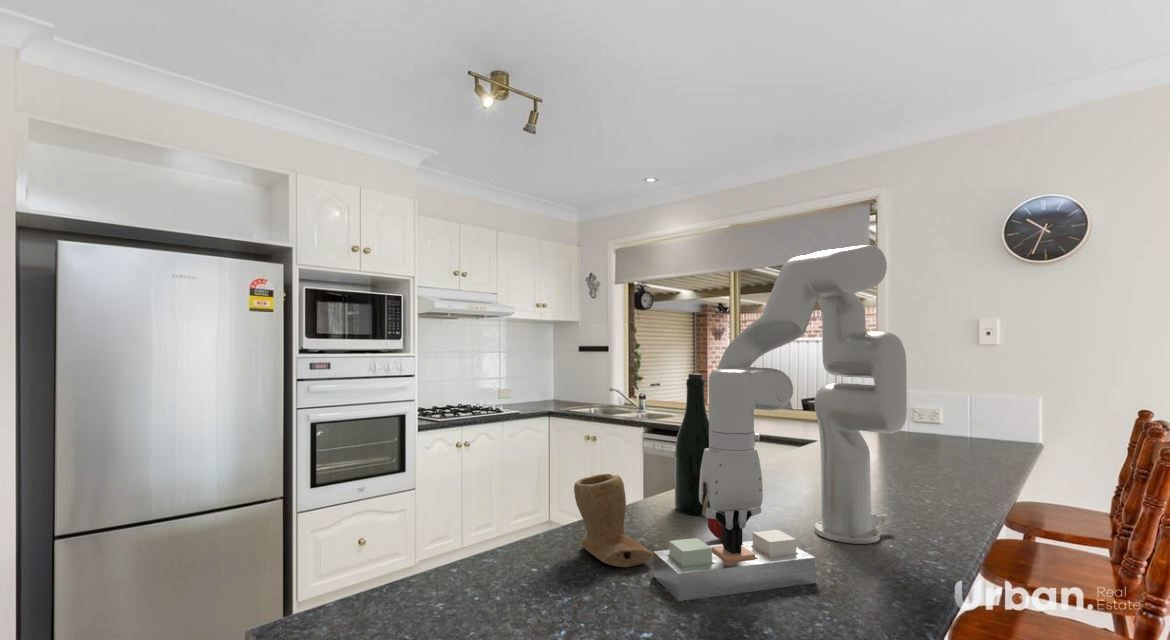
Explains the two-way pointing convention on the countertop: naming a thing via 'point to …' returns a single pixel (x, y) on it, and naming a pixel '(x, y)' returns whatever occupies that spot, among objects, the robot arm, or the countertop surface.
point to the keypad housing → (733, 574)
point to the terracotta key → (731, 557)
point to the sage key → (690, 552)
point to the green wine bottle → (691, 448)
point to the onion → (715, 528)
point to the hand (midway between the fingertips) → (732, 550)
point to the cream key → (774, 543)
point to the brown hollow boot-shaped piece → (607, 521)
